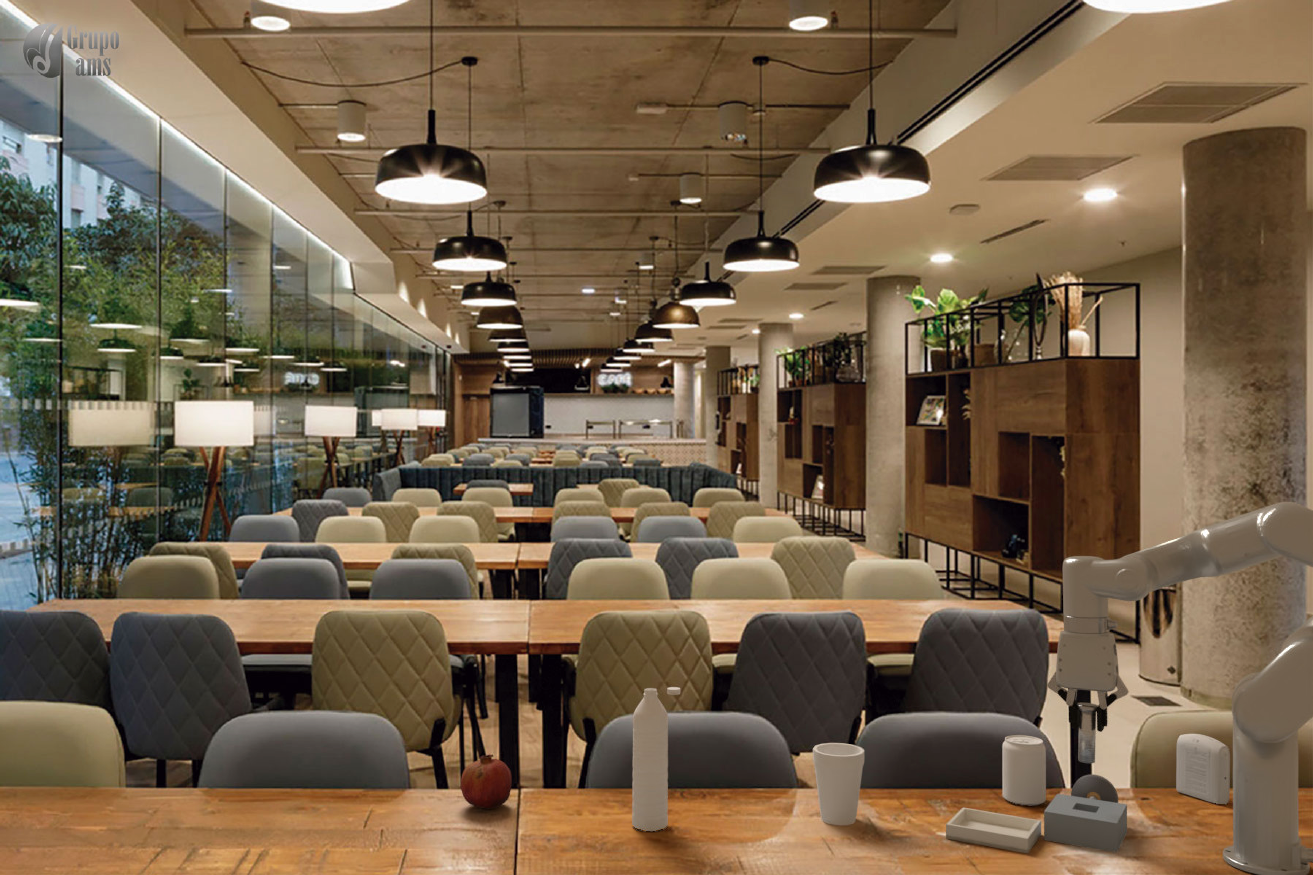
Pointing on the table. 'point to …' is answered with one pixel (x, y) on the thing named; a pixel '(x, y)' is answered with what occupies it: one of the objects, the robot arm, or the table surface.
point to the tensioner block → (1087, 816)
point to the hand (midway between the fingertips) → (1088, 727)
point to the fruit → (486, 782)
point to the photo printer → (1203, 768)
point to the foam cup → (838, 781)
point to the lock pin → (1087, 732)
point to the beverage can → (1024, 770)
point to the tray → (994, 830)
